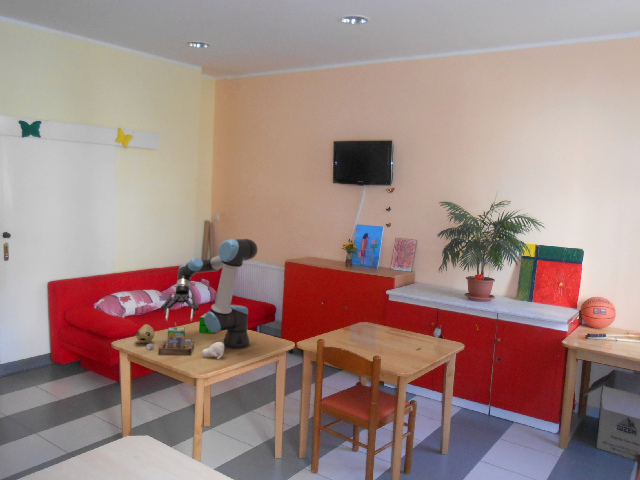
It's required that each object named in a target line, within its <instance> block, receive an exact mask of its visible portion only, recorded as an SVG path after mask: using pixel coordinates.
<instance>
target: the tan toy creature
mask: <svg viewBox="0 0 640 480" xmlns="http://www.w3.org/2000/svg"><path fill="white" fill-rule="evenodd" d="M135 337H136V340H137V343H138V344H151V341H152V340H153V339H154V337H155V331H154V328H153V327H152V326H151V325H149V324H147V323H146V324H143V325H142V326H141V327H140V328H139V329H138V330H137V332H136V334H135Z"/></svg>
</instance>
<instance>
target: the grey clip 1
mask: <svg viewBox="0 0 640 480" xmlns="http://www.w3.org/2000/svg"><path fill="white" fill-rule="evenodd" d="M145 349H146V350H148V351H152V350H155V344H152V343H150V344H148V343H146V348H145Z"/></svg>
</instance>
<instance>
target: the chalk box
mask: <svg viewBox="0 0 640 480" xmlns="http://www.w3.org/2000/svg"><path fill="white" fill-rule="evenodd" d="M185 340H186V327H185V326H182V327H181V326H180V327H179V326H177V323H176V322H174V327H173V326H172V327H168V330H167V345H168V348H185V346H186V345H185Z"/></svg>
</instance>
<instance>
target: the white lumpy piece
mask: <svg viewBox="0 0 640 480" xmlns="http://www.w3.org/2000/svg"><path fill="white" fill-rule="evenodd" d="M224 352H225V346H224V344H223V342H222V341H217V342H214V343H212V344H211V345H210V346H209V347H207V348H204V349H202V351H201V355H202V356H203V357H204V358H208V356H212V357H215V358H216V360H220V359H221V358H222V356H223V354H224Z"/></svg>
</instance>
